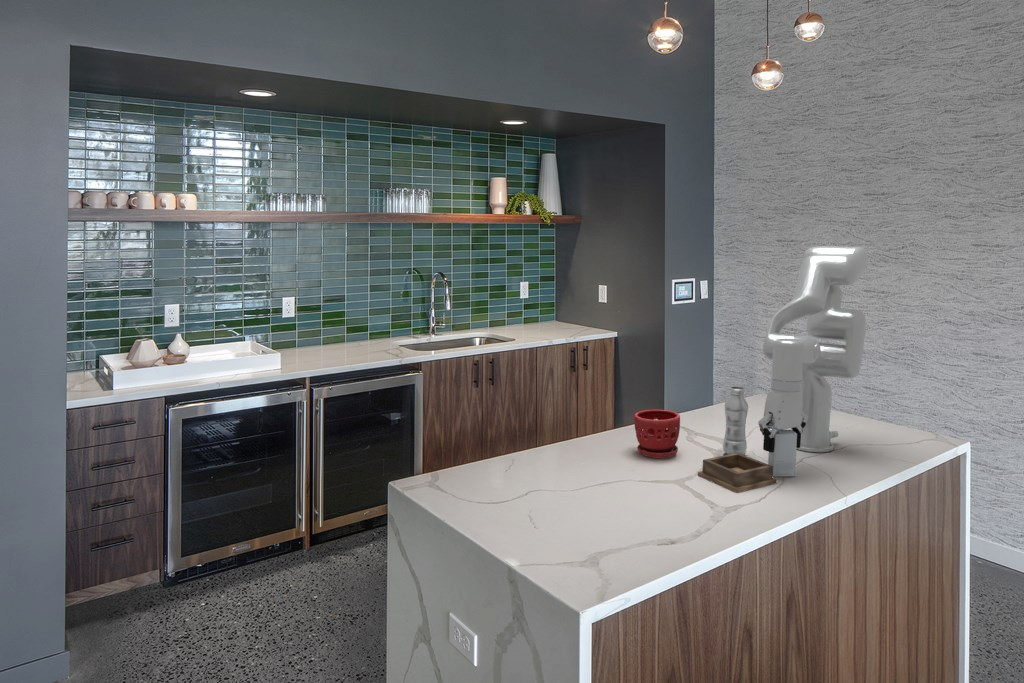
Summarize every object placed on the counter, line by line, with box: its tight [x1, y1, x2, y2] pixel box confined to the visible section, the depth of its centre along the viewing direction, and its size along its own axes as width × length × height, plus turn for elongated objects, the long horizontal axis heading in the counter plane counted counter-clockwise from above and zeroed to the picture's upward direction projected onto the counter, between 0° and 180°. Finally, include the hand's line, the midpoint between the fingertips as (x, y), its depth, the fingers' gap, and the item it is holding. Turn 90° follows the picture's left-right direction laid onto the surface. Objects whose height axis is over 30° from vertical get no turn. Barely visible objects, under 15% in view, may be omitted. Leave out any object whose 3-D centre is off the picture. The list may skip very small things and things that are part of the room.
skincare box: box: [767, 429, 797, 478], centre depth 191 cm, size 6×4×12 cm
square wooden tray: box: [697, 453, 778, 494], centre depth 188 cm, size 14×14×4 cm
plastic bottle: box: [722, 386, 749, 455], centre depth 206 cm, size 6×7×20 cm
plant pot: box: [633, 409, 681, 459], centre depth 209 cm, size 13×13×12 cm
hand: (781, 448), depth 190 cm, fingers open, 9 cm apart
